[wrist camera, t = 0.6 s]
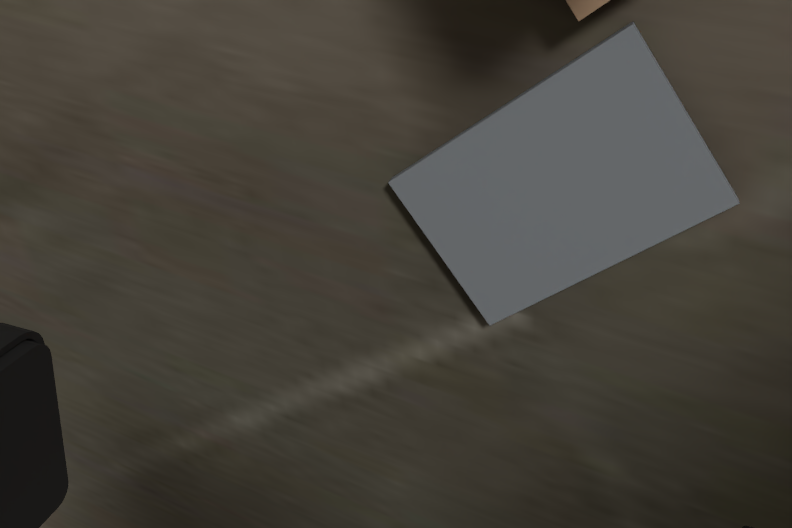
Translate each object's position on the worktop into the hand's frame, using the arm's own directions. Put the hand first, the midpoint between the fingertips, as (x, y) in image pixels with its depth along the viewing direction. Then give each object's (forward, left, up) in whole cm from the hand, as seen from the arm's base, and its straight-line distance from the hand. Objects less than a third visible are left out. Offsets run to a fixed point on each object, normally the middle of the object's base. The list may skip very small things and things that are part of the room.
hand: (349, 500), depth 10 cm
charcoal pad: (+2, +4, -26) cm, 26 cm away
